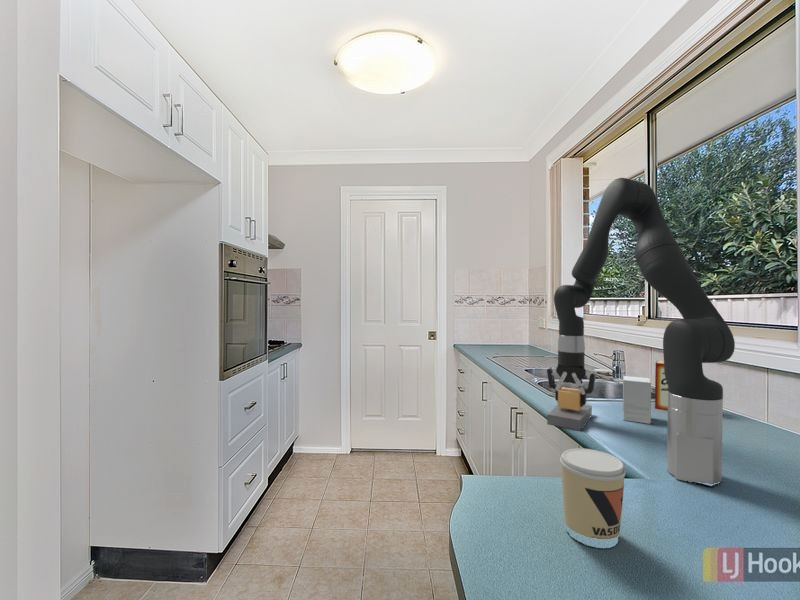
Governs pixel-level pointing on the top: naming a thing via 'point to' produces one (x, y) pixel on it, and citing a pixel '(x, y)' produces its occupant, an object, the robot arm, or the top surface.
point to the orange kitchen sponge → (569, 398)
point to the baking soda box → (661, 387)
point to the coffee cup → (592, 492)
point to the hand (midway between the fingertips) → (570, 403)
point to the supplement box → (637, 399)
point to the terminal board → (569, 417)
